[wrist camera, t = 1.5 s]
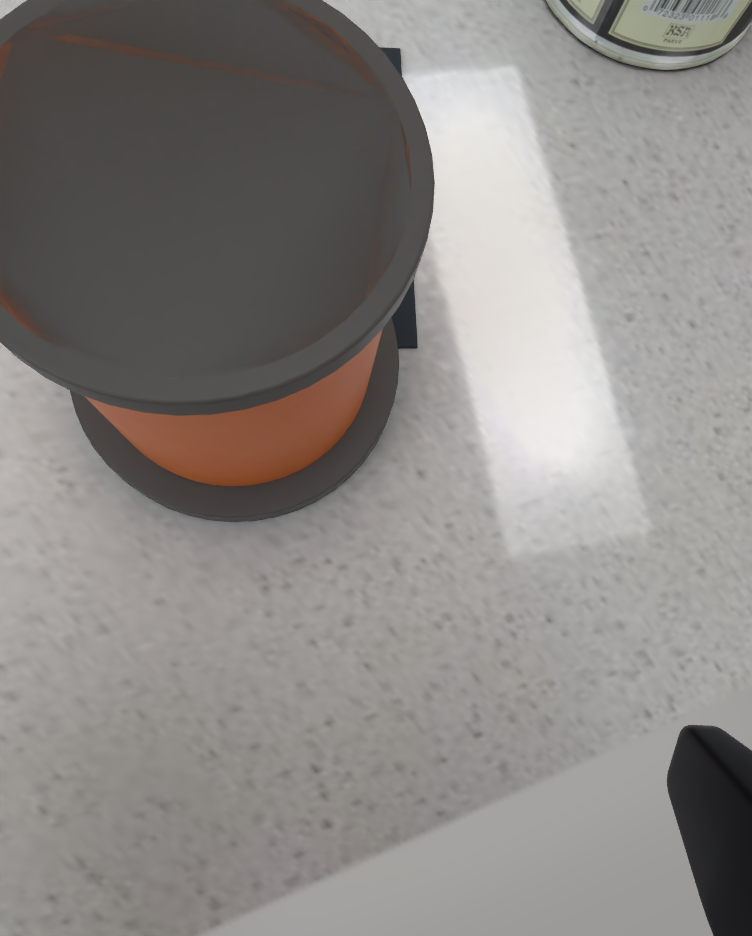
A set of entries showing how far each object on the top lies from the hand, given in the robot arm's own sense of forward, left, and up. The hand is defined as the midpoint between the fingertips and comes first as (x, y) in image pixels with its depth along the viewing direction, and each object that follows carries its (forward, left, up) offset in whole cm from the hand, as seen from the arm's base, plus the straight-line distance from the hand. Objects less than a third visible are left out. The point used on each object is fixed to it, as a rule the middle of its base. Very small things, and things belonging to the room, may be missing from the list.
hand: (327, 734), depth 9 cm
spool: (+8, +7, -14) cm, 17 cm away
